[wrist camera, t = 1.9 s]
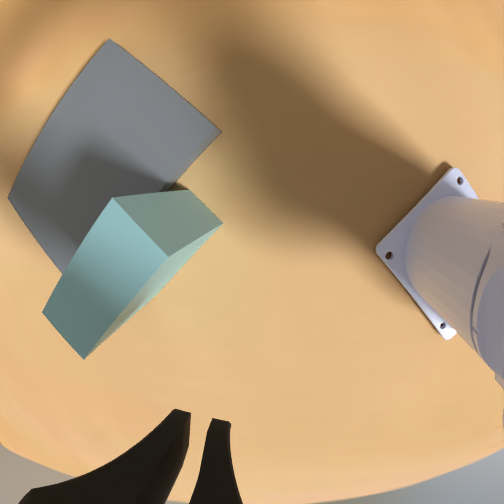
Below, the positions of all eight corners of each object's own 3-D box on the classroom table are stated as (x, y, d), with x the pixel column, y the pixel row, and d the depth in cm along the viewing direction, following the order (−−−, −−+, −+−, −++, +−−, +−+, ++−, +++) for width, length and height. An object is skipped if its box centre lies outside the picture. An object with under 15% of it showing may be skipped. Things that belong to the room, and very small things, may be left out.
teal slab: (223, 222, 19) (168, 257, 10) (156, 294, 21) (83, 359, 12) (189, 189, 19) (112, 197, 10) (127, 264, 20) (42, 312, 12)
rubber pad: (221, 131, 18) (216, 127, 16) (92, 289, 21) (81, 296, 20) (119, 45, 17) (109, 38, 16) (19, 196, 21) (7, 197, 19)
